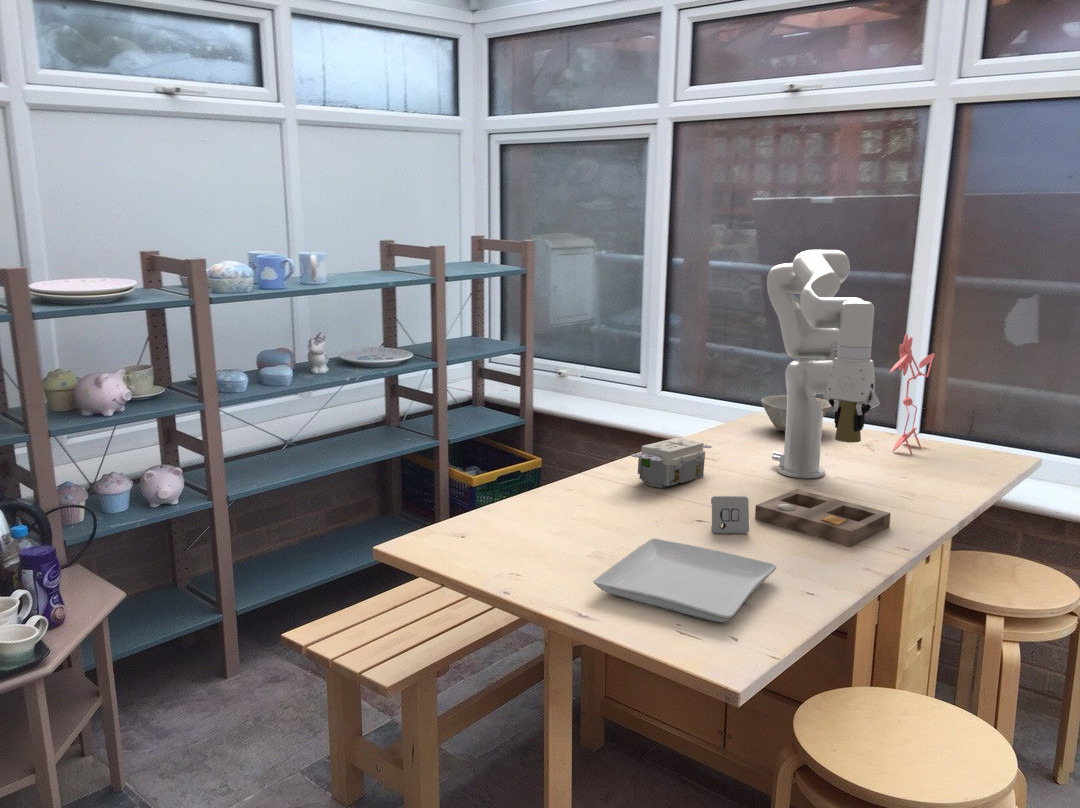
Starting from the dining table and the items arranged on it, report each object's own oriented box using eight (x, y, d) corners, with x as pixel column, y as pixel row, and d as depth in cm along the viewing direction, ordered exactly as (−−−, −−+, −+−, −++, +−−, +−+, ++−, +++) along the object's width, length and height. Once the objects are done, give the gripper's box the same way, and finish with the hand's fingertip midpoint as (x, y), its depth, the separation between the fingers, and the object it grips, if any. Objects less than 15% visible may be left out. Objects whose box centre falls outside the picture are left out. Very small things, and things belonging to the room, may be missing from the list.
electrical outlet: (622, 485, 235) (624, 447, 234) (679, 469, 257) (681, 434, 256) (660, 494, 228) (663, 455, 227) (715, 476, 250) (718, 441, 249)
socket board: (754, 519, 212) (755, 503, 211) (796, 502, 224) (797, 487, 224) (850, 547, 195) (851, 530, 195) (889, 527, 207) (890, 511, 207)
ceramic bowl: (762, 438, 286) (763, 408, 284) (757, 422, 308) (758, 393, 306) (835, 442, 282) (837, 411, 280) (824, 425, 304) (827, 395, 302)
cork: (862, 443, 215) (866, 397, 213) (836, 441, 216) (839, 396, 214) (859, 437, 221) (862, 392, 219) (833, 436, 222) (836, 391, 220)
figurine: (931, 442, 282) (942, 331, 274) (906, 460, 262) (918, 341, 255) (881, 435, 291) (891, 327, 284) (853, 451, 271) (863, 336, 264)
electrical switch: (711, 534, 202) (713, 498, 202) (707, 529, 207) (709, 493, 206) (749, 534, 203) (750, 498, 202) (744, 529, 207) (745, 493, 206)
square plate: (590, 599, 170) (590, 579, 169) (651, 552, 193) (652, 535, 192) (729, 635, 156) (730, 614, 155) (777, 580, 179) (778, 562, 178)
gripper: (813, 351, 218) (809, 425, 221) (880, 358, 206) (874, 437, 210) (829, 348, 223) (824, 421, 227) (895, 355, 211) (889, 432, 215)
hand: (848, 428), depth 218 cm, fingers closed on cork, 4 cm apart
